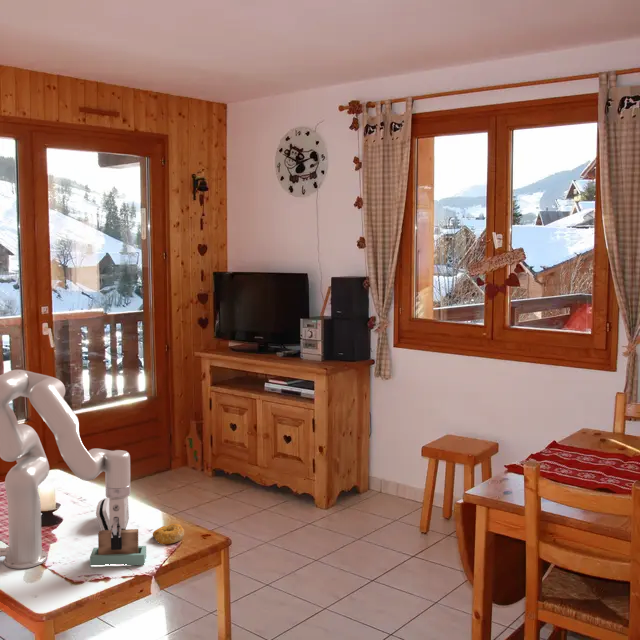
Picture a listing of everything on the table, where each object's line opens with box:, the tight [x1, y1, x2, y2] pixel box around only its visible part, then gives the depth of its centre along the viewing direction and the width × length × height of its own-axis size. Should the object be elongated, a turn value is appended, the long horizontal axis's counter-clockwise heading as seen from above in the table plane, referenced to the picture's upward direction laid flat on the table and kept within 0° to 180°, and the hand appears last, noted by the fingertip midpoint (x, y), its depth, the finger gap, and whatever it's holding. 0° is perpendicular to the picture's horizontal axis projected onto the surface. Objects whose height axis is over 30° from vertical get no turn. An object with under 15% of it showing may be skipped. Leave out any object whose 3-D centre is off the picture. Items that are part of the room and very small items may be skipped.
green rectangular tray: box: [89, 545, 147, 566], centre depth 236 cm, size 16×7×4 cm, turn 98°
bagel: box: [152, 523, 185, 545], centre depth 254 cm, size 10×11×5 cm
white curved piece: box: [95, 497, 111, 530], centre depth 267 cm, size 17×5×10 cm, turn 5°
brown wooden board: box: [97, 528, 139, 555], centre depth 236 cm, size 12×2×9 cm, turn 98°
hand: (118, 543), depth 235 cm, fingers open, 9 cm apart
